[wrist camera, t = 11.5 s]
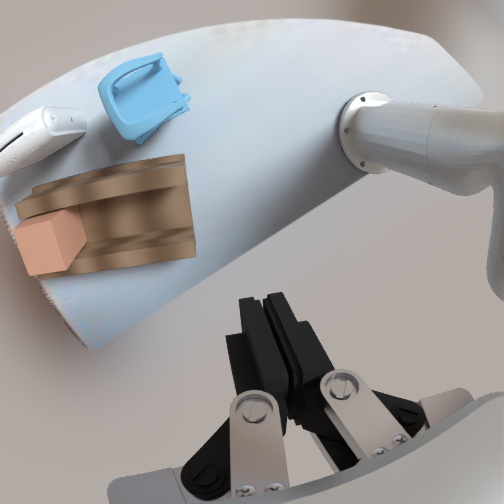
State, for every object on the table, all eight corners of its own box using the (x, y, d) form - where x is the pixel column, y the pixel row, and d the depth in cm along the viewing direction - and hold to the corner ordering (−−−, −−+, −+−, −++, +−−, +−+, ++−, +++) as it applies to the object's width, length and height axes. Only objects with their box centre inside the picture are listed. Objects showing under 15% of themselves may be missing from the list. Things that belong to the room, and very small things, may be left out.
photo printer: (83, 102, 26) (35, 98, 15) (92, 131, 28) (47, 139, 17) (25, 140, 25) (-30, 155, 15) (34, 167, 28) (-19, 190, 17)
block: (76, 199, 30) (50, 220, 23) (87, 240, 33) (66, 270, 26) (41, 207, 29) (12, 230, 22) (53, 247, 32) (29, 276, 25)
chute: (184, 153, 32) (182, 159, 27) (195, 241, 38) (196, 262, 32) (35, 186, 29) (13, 199, 23) (57, 263, 34) (41, 284, 29)
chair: (199, 113, 30) (204, 107, 20) (139, 145, 30) (114, 156, 20) (173, 62, 27) (166, 32, 16) (113, 95, 27) (78, 83, 16)
